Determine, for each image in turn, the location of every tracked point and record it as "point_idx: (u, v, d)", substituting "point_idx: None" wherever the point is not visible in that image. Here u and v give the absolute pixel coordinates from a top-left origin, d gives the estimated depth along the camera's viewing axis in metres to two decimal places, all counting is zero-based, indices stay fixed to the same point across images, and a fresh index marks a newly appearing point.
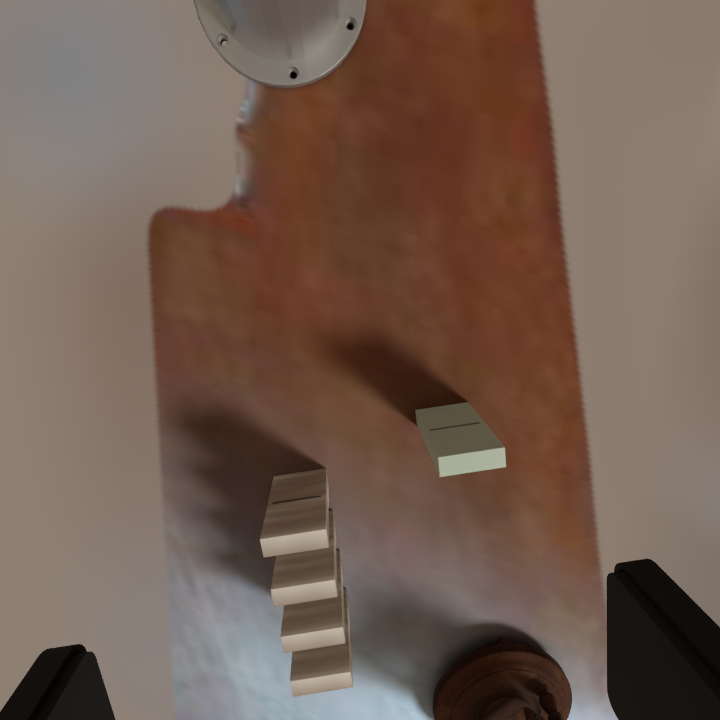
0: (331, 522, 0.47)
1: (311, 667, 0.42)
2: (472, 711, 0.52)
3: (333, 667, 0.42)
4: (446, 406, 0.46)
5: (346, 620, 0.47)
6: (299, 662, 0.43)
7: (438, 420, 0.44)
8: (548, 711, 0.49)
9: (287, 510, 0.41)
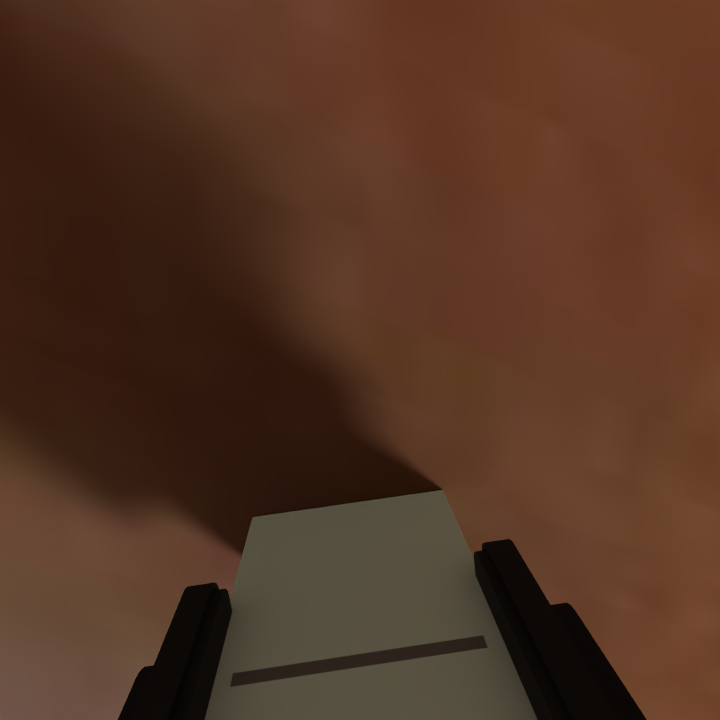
0: None
1: None
2: None
3: None
4: (364, 507, 0.13)
5: None
6: None
7: (304, 597, 0.10)
8: None
9: None
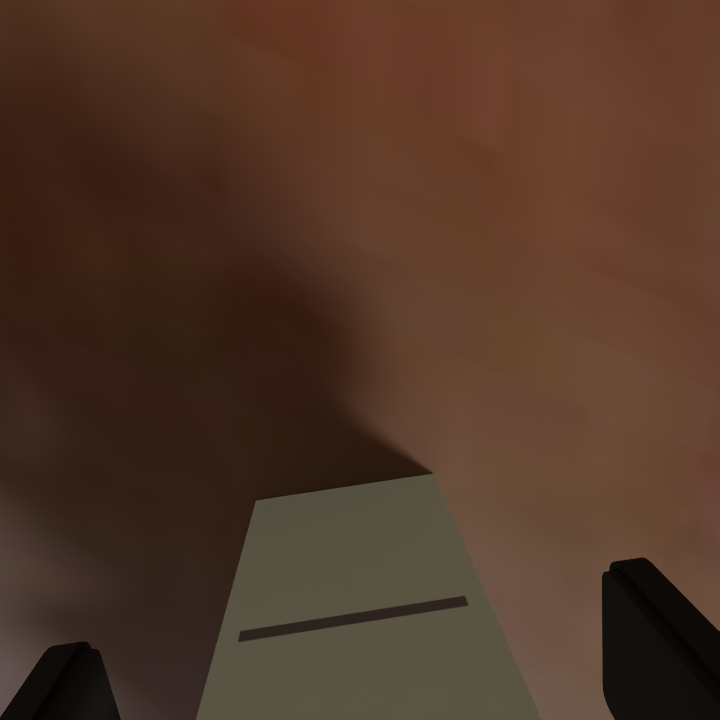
0: None
1: None
2: None
3: None
4: (360, 490, 0.14)
5: None
6: None
7: (303, 567, 0.11)
8: None
9: None
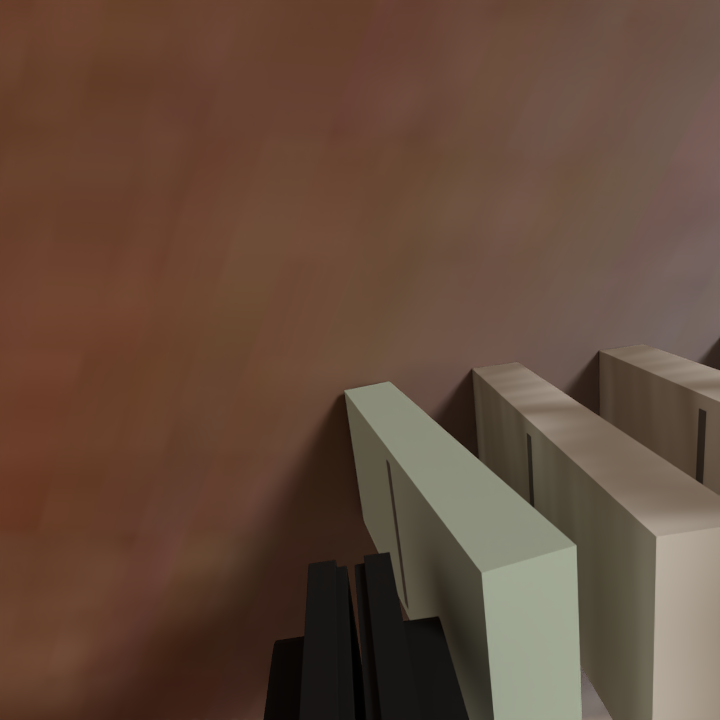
0: (635, 371, 0.15)
1: None
2: None
3: None
4: (354, 450, 0.17)
5: None
6: None
7: (383, 534, 0.15)
8: None
9: None
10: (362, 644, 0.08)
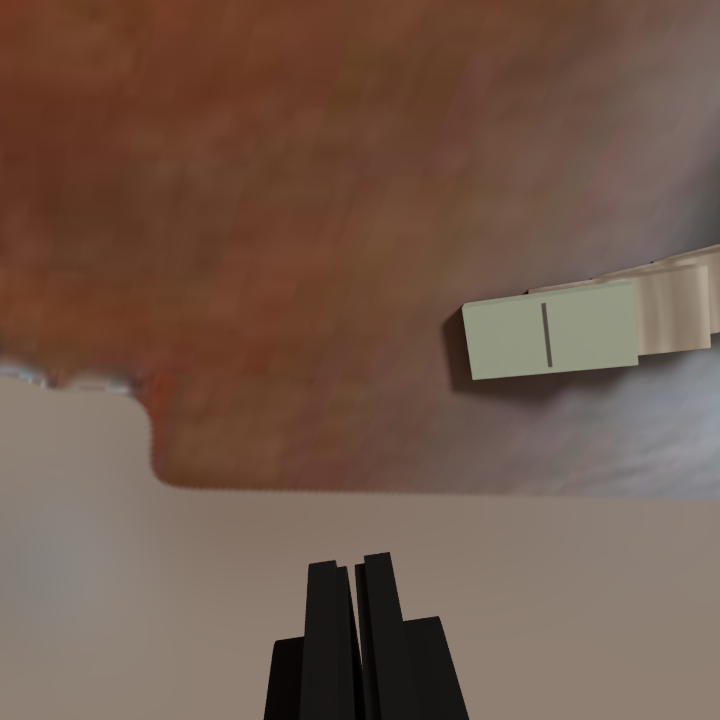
0: None
1: None
2: None
3: None
4: (471, 338, 0.33)
5: None
6: None
7: (520, 353, 0.33)
8: None
9: (643, 327, 0.31)
10: (362, 644, 0.08)
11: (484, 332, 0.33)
